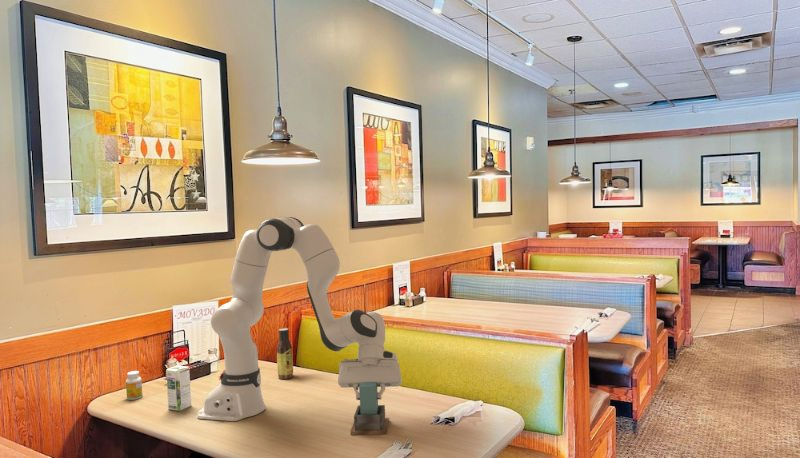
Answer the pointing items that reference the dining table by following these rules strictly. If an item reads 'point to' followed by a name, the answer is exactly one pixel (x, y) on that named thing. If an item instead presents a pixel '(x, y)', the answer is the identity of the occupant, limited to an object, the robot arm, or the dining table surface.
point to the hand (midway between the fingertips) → (368, 399)
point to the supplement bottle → (133, 385)
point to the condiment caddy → (370, 423)
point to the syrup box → (178, 388)
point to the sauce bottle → (284, 355)
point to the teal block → (368, 398)
